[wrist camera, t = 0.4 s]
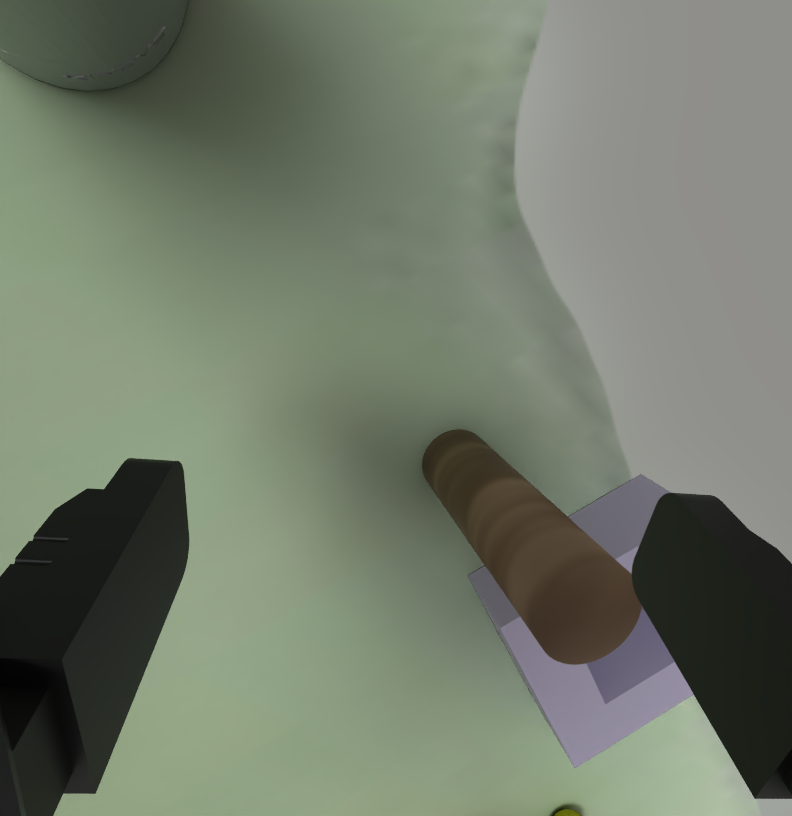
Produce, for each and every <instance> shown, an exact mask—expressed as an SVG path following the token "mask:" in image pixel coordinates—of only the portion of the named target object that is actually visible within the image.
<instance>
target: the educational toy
mask: <svg viewBox="0 0 792 816" xmlns="http://www.w3.org/2000/svg"><path fill="white" fill-rule="evenodd" d="M554 816H581V815H580V814H579V813H577V812H575V811H573V810H569V809H564V810H561V811H559V812H557V813H556V814H555V815H554Z"/></svg>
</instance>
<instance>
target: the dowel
mask: <svg viewBox="0 0 792 816" xmlns="http://www.w3.org/2000/svg"><path fill="white" fill-rule="evenodd" d="M422 468H423V474H424V477H425V479H426V480H427V482H428V484H429V485H430V486H431V488H432V489H433V491H434V492H435V494H436V495H437V497H438V498H439V499H440V501H441V502H442V504H443V505H444V507H445V508H446V510H447V511H448V513H449V514H450V515H451V517H452V518H453V520H454V521H455V523H456V524H457V526H458V527H459V528H460V530H461V531H462V533H463V534H464V536H465V537H466V539H467V540H468V542H469V543H470V544H471V546H472V547H473V549H474V550H475V552H476V553H477V555H478V556H479V557H480V559H481V560H482V562H483V563H484V565H485V566H486V568H487V569H488V571H489V572H490V573H491V575H492V576H493V578H494V579H495V581H496V582H497V584H498V585H499V586H500V588H501V589H502V591H503V592H504V594H505V595H506V597H507V598H508V600H509V601H510V602H511V604H512V605H513V607H514V608H515V610H516V611H517V613H518V614H519V615H520V617H521V618H522V620H523V621H524V623H525V624H526V626H527V627H528V629H529V630H530V631H531V633H532V634H533V636H534V637H535V639H536V640H537V642H538V643H539V645H540V646H541V647H542V649H543V650H544V652H545V653H546V654H547V655H548V656H549V657H551V658H552V659H554V660H556V661H558V662H561V663H564V664H570V665H579V664H586V663H590V662H593V661H596V660H598V659H601V658H603V657H604V656H606V655H608V654H610V653H611V652H613V651H614V650H615V649H616V648H618V647H619V646H620V645H621V644H622V643H623V642H624V641H625V640H626V639H627V637H628V636H629V635H630V634H631V632H632V631H633V629H634V627H635V625H636V624H637V621H638V619H639V616H640V613H641V608H642V605H641V603H640V602H639V600H638V598H637V596H636V594H635V591H634V588H633V583H632V574H631V573H630V572H629V571H628V570H627V569H625V568H624V567H623V566H622V565H621V564H620V563H619V562H618V561H616V560H615V559H614V558H613V557H612V556H611V555H610V554H609V553H608V552H606V551H605V550H604V549H603V548H602V547H601V546H600V545H599V544H597V543H596V542H595V541H594V540H593V539H592V538H591V537H590V536H589V535H587V534H586V533H585V532H584V531H583V530H582V529H581V528H580V527H578V526H577V525H576V524H575V523H574V522H573V521H572V520H571V519H570V518H568V517H567V516H566V515H565V514H564V513H563V512H562V511H561V510H560V509H558V508H557V507H556V506H555V505H554V504H553V503H552V502H551V501H549V500H548V499H547V498H546V497H545V496H544V495H543V494H542V493H541V492H539V491H538V490H537V489H536V488H535V487H534V486H533V485H532V484H530V483H529V482H528V481H527V480H526V479H525V478H524V477H523V476H522V475H520V474H519V473H518V472H517V471H516V470H515V469H514V468H513V467H511V466H510V465H509V464H508V463H507V462H506V461H505V460H504V459H503V458H501V457H500V456H499V455H498V454H497V453H496V452H495V451H494V450H493V449H491V448H490V447H489V446H488V445H487V444H486V443H485V442H484V441H482V440H481V439H480V438H479V437H478V436H477V435H475V434H474V433H472V432H469V431H466V430H452V431H448V432H445V433H443V434H441V435H440V436H438V437H437V438H436V439H434V440H433V441H432V442H431V444H430V445H429V446H428V448H427V450H426V452H425V454H424V457H423V463H422Z"/></svg>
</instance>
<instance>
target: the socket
mask: <svg viewBox="0 0 792 816" xmlns="http://www.w3.org/2000/svg"><path fill="white" fill-rule="evenodd" d="M666 493H671V492H669V491H668V490H666V489H664V488H663V487H661V486H659V485H658V484H656V483H655V482H653V481H651V480H650V479H648V478H646V477H644V476H643V475H639V476H637V477H635V478H634V479H632V480H630V481H628V482H627V483H625V484H623V485H622V486H620V487H618V488H616V489H615V490H613V491H611V492H610V493H608V494H606V495H605V496H603V497H601V498H599V499H598V500H596V501H594V502H593V503H591V504H589V505H587V506H586V507H584V508H582V509H581V510H579V511H577V512H575V513H574V514H572V515H570V516H569V517H568V518H570V519H571V520H572V521H573V522H574V523H575V524H576V525H577V526H578V527H580V528H581V529H582V530H583V531H584V532H585V533H586V534H587V535H589V536H590V537H591V538H592V539H593V540H594V541H595V542H596V543H597V544H599V545H600V546H601V547H602V548H603V549H604V550H605V551H606V552H608V553H609V554H610V555H611V556H612V557H613V558H614V559H615V560H616V561H618V562H619V563H620V564H621V565H622V566H623V567H624V568H625V569H627V570H628V571H629V572H630V573H631V574H632V564H633V560H634V558H635V555H636V553H637V550H638V548H639V545H640V543H641V540H642V538H643V536H644V533H645V531H646V528H647V526H648V523H649V521H650V518H651V516H652V514H653V511H654V509H655V506H656V504H657V502H658V500H659V499H660V498H661V497H662V496H663V495H664V494H666ZM468 577H469V579H470V581H471V583H472V584H473V586H474V588H475V590H476V592H477V594H478V596H479V598H480V599H481V601H482V603H483V605H484V607H485V609H486V611H487V612H488V614H489V616H490V618H491V620H492V622H493V624H494V625H495V627H496V629H497V631H498V633H499V635H500V637H501V638H502V640H503V642H504V644H505V646H506V648H507V650H508V652H509V653H510V655H511V657H512V659H513V661H514V663H515V665H516V666H517V668H518V670H519V672H520V674H521V676H522V678H523V679H524V681H525V683H526V685H527V687H528V689H529V691H530V692H531V694H532V696H533V698H534V700H535V702H536V704H537V705H538V707H539V709H540V711H541V712H542V714H543V716H544V717H545V719H546V721H547V722H548V724H549V726H550V727H551V729H552V731H553V732H554V734H555V736H556V737H557V739H558V741H559V743H560V744H561V746H562V748H563V749H564V751H565V753H566V754H567V756H568V758H569V759H570V761H571V763H572V764H573V766H574V768H576V767H578V766H580V765H581V764H583V763H584V762H586V761H588V760H589V759H591V758H592V757H594V756H596V755H597V754H599V753H600V752H602V751H604V750H605V749H607V748H608V747H610V746H612V745H613V744H615V743H616V742H618V741H620V740H621V739H623V738H624V737H626V736H628V735H629V734H631V733H632V732H634V731H636V730H637V729H639V728H641V727H642V726H644V725H645V724H647V723H649V722H650V721H652V720H653V719H655V718H657V717H658V716H660V715H661V714H663V713H665V712H666V711H668V710H669V709H671V708H673V707H674V706H676V705H677V704H679V703H681V702H682V701H684V700H685V699H687V698H689V697H690V696H692V695H693V692H692V690H691V689H690V687H689V685H688V684H687V682H686V680H685V679H684V677H683V675H682V673H681V672H680V670H679V668H678V667H677V665H676V663H675V661H674V660H673V658H672V656H671V655H670V653H669V651H668V649H667V648H666V646H665V644H664V643H663V641H662V639H661V638H660V636H659V634H658V632H657V631H656V629H655V627H654V626H653V624H652V622H651V620H650V619H649V617H648V615H647V614H646V612H645V610H644V609H643V607H642V608H641V613H640V616H639V619H638V621H637V624H636V625H635V627H634V629H633V631H632V632H631V634H630V635H629V636H628V637H627V639H626V640H625V641H624V642H623V643H622V644H621V645H620V646H619V647H618V648H616V649H615V650H614V651H613V652H611V653H610V654H608V655H606V656H604V657H603V658H601V659H598V660H596V661H593V662H590V663H586V664H579V665H570V664H564V663H561V662H558V661H556V660H554V659H552V658H551V657H549V656H548V655H547V654H546V653H545V652H544V650H543V649H542V647H541V646H540V645H539V643H538V642H537V640H536V639H535V637H534V636H533V634H532V633H531V631H530V630H529V629H528V627H527V626H526V624H525V623H524V621H523V620H522V618H521V617H520V615H519V614H518V613H517V611H516V610H515V608H514V607H513V605H512V604H511V602H510V601H509V600H508V598H507V597H506V595H505V594H504V592H503V591H502V589H501V588H500V586H499V585H498V584H497V582H496V581H495V579H494V578H493V576H492V575H491V573H490V572H489V571H488V569H487V568H486V566H483V567H482V568H480V569H478V570H476V571H475V572H473V573H471V574H470V575H468Z"/></svg>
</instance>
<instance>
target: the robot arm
mask: <svg viewBox="0 0 792 816" xmlns="http://www.w3.org/2000/svg"><path fill="white" fill-rule="evenodd" d="M186 8H187V0H0V59H2V60H3V61H5V62H6V63H7V64H9V65H11V66H13V67H14V68H16V69H18V70H20V71H22V72H23V73H25V74H27V75H29V76H31V77H33V78H34V79H37V80H40V81H43V82H46V83H49V84H52V85H55V86H58V87H61V88H69V89H77V90H85V91H91V90H102V89H112V88H115V87H118V86H121V85H124V84H127V83H130V82H133V81H135V80H137V79H138V78H140V77H141V76H143V75H144V74H146V73H147V72H149V71H150V70H152V69H153V68H154V67H155V66H156V65H157V64H158V63H159V62H160V61H161V60H162V59H163V57H164V56H165V55H166V54H167V53H168V52H169V51H170V49H171V47H172V45H173V43H174V41H175V39H176V38H177V36H178V34H179V32H180V30H181V27H182V23H183V19H184V15H185V12H186ZM188 551H189V530H188V517H187V505H186V493H185V481H184V471H183V467H182V464H181V463H180V462H179V461H167V460H151V459H135V458H129V459H127V460H126V461H125V462H124V463H123V464H122V465H121V467H120V468H119V469H118V471H117V472H116V474H115V475H114V476H113V478H112V479H111V481H110V482H109V483H108V485H107V486H106V488H105V489H86V490H84V491H83V492H81V493H80V494H78V495H76V496H75V497H73V498H72V499H70V500H69V501H67V502H66V503H64V504H63V505H61V506H59V507H58V508H56V509H55V510H54V511H53V512H52V514H51V515H50V516H49V517H48V519H47V520H46V521H45V522H44V524H43V525H42V526H41V527H40V528H39V530H38V531H37V532H36V533H35V535H34V539H33V541H29V542H28V543H27V544H26V546H25V547H24V548H23V549H22V551H21V552H20V553H19V554H18V556H17V557H16V558H15V563H14V564H10V565H9V567H8V568H7V569H6V570H5V572H4V573H3V574H2V575H1V576H0V816H53V815H54V813H55V810H56V808H57V806H58V804H59V801H60V799H61V797H62V795H63V793H87V794H96V791H97V789H98V786H99V784H100V781H101V779H102V776H103V774H104V771H105V769H106V766H107V764H108V761H109V759H110V756H111V754H112V752H113V749H114V747H115V744H116V742H117V739H118V737H119V734H120V732H121V729H122V727H123V724H124V722H125V719H126V717H127V714H128V712H129V709H130V707H131V704H132V702H133V700H134V697H135V695H136V692H137V690H138V687H139V685H140V682H141V680H142V677H143V675H144V672H145V670H146V667H147V665H148V662H149V660H150V657H151V655H152V652H153V650H154V647H155V645H156V643H157V640H158V638H159V635H160V633H161V630H162V628H163V625H164V623H165V620H166V618H167V615H168V613H169V610H170V608H171V605H172V603H173V600H174V598H175V595H176V593H177V590H178V588H179V586H180V583H181V581H182V578H183V575H184V572H185V568H186V564H187V559H188ZM632 583H633V588H634V591H635V594H636V596H637V598H638V600H639V602H640V603H641V605H642V607H643V609H644V610H645V612H646V614H647V615H648V617H649V619H650V620H651V622H652V624H653V626H654V627H655V629H656V631H657V632H658V634H659V636H660V638H661V639H662V641H663V643H664V644H665V646H666V648H667V649H668V651H669V653H670V655H671V656H672V658H673V660H674V661H675V663H676V665H677V667H678V668H679V670H680V672H681V673H682V675H683V677H684V679H685V680H686V682H687V684H688V685H689V687H690V689H691V690H692V692H693V694H694V696H695V697H696V699H697V701H698V702H699V704H700V706H701V708H702V709H703V711H704V713H705V714H706V716H707V718H708V720H709V721H710V723H711V725H712V726H713V728H714V730H715V731H716V733H717V735H718V737H719V738H720V740H721V742H722V743H723V745H724V747H725V749H726V750H727V752H728V754H729V755H730V757H731V759H732V760H733V762H734V764H735V766H736V767H737V769H738V771H739V772H740V774H741V776H742V778H743V779H744V781H745V783H746V784H747V786H748V788H749V790H750V791H751V793H752V795H753V796H754V798H755V799H762V798H763V799H792V564H791V562H790V561H789V560H787V558H785V556H784V555H783V554H782V553H781V552H780V551H779V550H778V549H777V548H775V547H773V546H772V545H771V544H769V543H767V542H766V541H765V540H763V539H762V538H760V537H759V536H757V535H756V534H754V533H753V532H751V531H750V530H749V529H747V527H746V526H745V525H744V524H743V523H742V522H741V521H740V520H739V519H738V518H737V517H736V516H735V515H734V514H733V513H732V512H731V511H730V510H729V509H728V508H727V507H726V505H725V504H723V502H722V501H720V500H719V499H718V498H716V497H715V496H711V495H696V494H680V493H666V494H664V495H663V496H662V497H661V498H660V499H659V500H658V502H657V504H656V506H655V509H654V511H653V514H652V516H651V518H650V521H649V523H648V526H647V528H646V531H645V533H644V536H643V538H642V540H641V543H640V545H639V548H638V550H637V553H636V555H635V558H634V560H633V564H632Z"/></svg>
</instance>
